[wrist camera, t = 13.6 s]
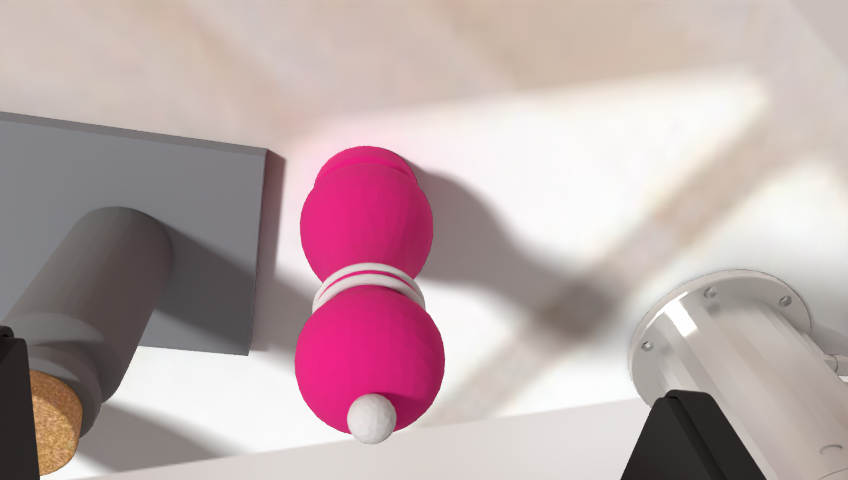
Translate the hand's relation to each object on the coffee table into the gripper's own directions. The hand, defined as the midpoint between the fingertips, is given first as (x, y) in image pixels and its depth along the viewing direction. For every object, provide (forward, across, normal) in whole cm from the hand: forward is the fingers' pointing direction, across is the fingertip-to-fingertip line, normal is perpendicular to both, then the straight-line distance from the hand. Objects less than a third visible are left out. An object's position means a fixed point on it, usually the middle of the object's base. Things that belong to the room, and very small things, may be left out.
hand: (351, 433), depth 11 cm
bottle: (+29, +12, +15) cm, 35 cm away
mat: (+30, +12, +15) cm, 36 cm away
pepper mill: (+31, -2, +10) cm, 32 cm away
